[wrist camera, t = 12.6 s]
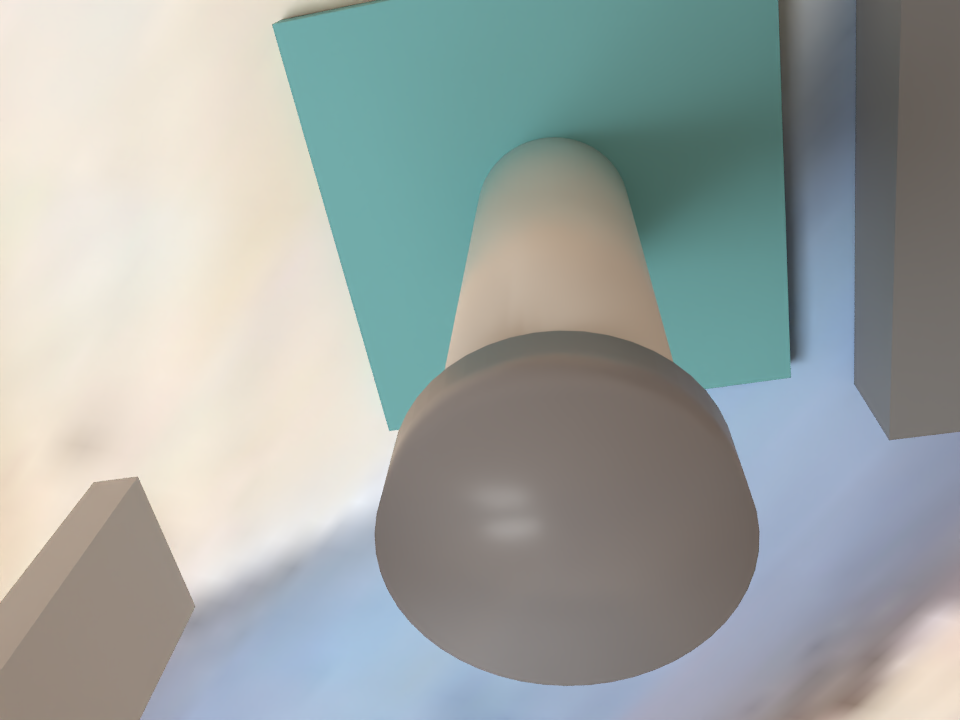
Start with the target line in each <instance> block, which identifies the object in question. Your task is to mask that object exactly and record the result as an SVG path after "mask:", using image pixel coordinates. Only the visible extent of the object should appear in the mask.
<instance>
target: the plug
mask: <svg viewBox="0 0 960 720" xmlns="http://www.w3.org/2000/svg"><path fill="white" fill-rule="evenodd" d="M375 546H376V555H377V560H378V564H379V568H380V572H381V575H382V577H383V580H384V582H385V584H386V587H387V589H388V591H389V593H390V595H391V596H392V598H393V600H394V601H395V603H396V605H397V606H398V608H399V609H400V610H401V611H402V613H403V614H404V615H405V616H406V618H407V619H408V620H409V621H410V623H411V624H413V625H414V626H415V627H416V628H417V629H418V630H419V631H420V632H421V633H422V634H423V635H424V636H425V637H426V638H428V639H429V640H430V641H432V642H433V643H434V644H435V645H437V646H438V647H439V648H441V649H442V650H444V651H446V652H447V653H449V654H451V655H452V656H454V657H456V658H457V659H459V660H461V661H463V662H465V663H467V664H470V665H472V666H474V667H476V668H478V669H481V670H484V671H487V672H490V673H492V674H495V675H498V676H502V677H506V678H510V679H514V680H518V681H523V682H529V683H536V684H543V685H561V686H574V685H592V684H600V683H608V682H614V681H618V680H622V679H627V678H631V677H635V676H638V675H641V674H644V673H647V672H650V671H653V670H656V669H658V668H660V667H662V666H664V665H667V664H669V663H671V662H673V661H675V660H677V659H679V658H680V657H682V656H684V655H685V654H687V653H689V652H691V651H692V650H694V649H695V648H696V647H698V646H699V645H700V644H702V643H703V642H704V641H706V640H707V639H708V638H710V637H711V636H712V635H713V634H714V633H715V632H716V631H717V630H718V629H719V628H720V627H721V626H722V625H723V624H724V623H725V622H726V621H727V620H728V618H729V617H730V616H731V614H732V613H733V612H734V611H735V609H736V608H737V607H738V605H739V603H740V602H741V600H742V598H743V596H744V595H745V593H746V591H747V589H748V587H749V584H750V582H751V579H752V577H753V574H754V571H755V567H756V562H757V557H758V552H759V525H758V518H757V511H756V508H755V505H754V502H753V499H752V496H751V493H750V490H749V487H748V484H747V481H746V478H745V475H744V472H743V469H742V466H741V463H740V460H739V458H738V455H737V452H736V449H735V446H734V443H733V440H732V437H731V434H730V431H729V428H728V425H727V424H726V422H725V420H724V418H723V416H722V414H721V412H720V410H719V408H718V407H717V405H716V404H715V402H714V401H713V400H712V398H711V397H710V396H709V394H708V393H707V391H706V390H705V389H704V388H703V387H702V386H701V385H700V384H699V383H698V382H697V381H696V380H695V379H694V378H693V377H692V376H691V375H690V374H688V373H687V372H686V371H684V370H683V369H682V368H680V367H679V366H678V365H677V364H675V363H674V362H673V359H672V355H671V352H670V348H669V344H668V341H667V337H666V333H665V330H664V326H663V322H662V319H661V315H660V312H659V308H658V304H657V301H656V297H655V293H654V290H653V286H652V282H651V279H650V275H649V271H648V268H647V264H646V260H645V257H644V253H643V250H642V246H641V242H640V239H639V235H638V231H637V228H636V224H635V220H634V217H633V213H632V209H631V206H630V202H629V198H628V195H627V191H626V188H625V185H624V182H623V180H622V178H621V176H620V174H619V172H618V171H617V169H616V168H615V167H614V165H613V164H612V163H611V162H610V161H609V160H608V159H607V158H606V157H605V156H604V155H603V154H602V153H600V152H599V151H598V150H596V149H594V148H593V147H591V146H589V145H587V144H585V143H582V142H580V141H576V140H573V139H567V138H557V137H550V138H541V139H537V140H533V141H529V142H527V143H524V144H522V145H520V146H518V147H516V148H514V149H512V150H511V151H510V152H508V153H507V154H505V155H504V156H503V157H502V158H501V159H500V160H499V161H498V162H497V163H496V164H495V165H494V167H493V168H492V169H491V170H490V172H489V174H488V175H487V177H486V179H485V181H484V183H483V186H482V188H481V192H480V195H479V200H478V205H477V210H476V215H475V220H474V225H473V230H472V235H471V240H470V245H469V250H468V255H467V260H466V265H465V270H464V275H463V280H462V285H461V290H460V296H459V301H458V306H457V311H456V316H455V321H454V326H453V331H452V336H451V341H450V346H449V351H448V356H447V361H446V366H445V370H444V371H443V372H441V373H440V374H439V375H438V376H437V377H436V378H434V379H433V380H432V381H431V382H430V383H429V384H428V385H427V387H426V388H425V389H424V390H423V391H422V392H421V393H420V394H419V396H418V397H417V398H416V400H415V401H414V403H413V404H412V406H411V408H410V409H409V411H408V412H407V414H406V416H405V418H404V420H403V423H402V425H401V427H400V429H399V432H398V435H397V439H396V443H395V446H394V450H393V454H392V458H391V461H390V465H389V469H388V473H387V477H386V481H385V484H384V488H383V492H382V496H381V500H380V503H379V507H378V511H377V516H376V526H375Z"/></svg>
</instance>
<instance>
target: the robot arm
mask: <svg viewBox="0 0 960 720" xmlns="http://www.w3.org/2000/svg"><path fill="white" fill-rule="evenodd" d="M194 608H195V605H194V602H193V600H192V598H191V596H190V593H189V591H188V589H187V587H186V584H185V582H184V580H183V578H182V575H181V573H180V571H179V569H178V566H177V564H176V562H175V560H174V557H173V555H172V553H171V551H170V548H169V546H168V544H167V542H166V539H165V537H164V535H163V532H162V530H161V528H160V526H159V523H158V521H157V519H156V517H155V514H154V512H153V510H152V508H151V505H150V503H149V501H148V499H147V496H146V494H145V492H144V490H143V487H142V485H141V483H140V481H139V478H138V477H131V478H123V479H116V480H108V481H101V482H94V483H93V484H92V485H91V487H90V488H89V489H88V490H87V492H86V493H85V494H84V496H83V497H82V498H81V499H80V501H79V502H78V503H77V505H76V506H75V507H74V508H73V510H72V511H71V512H70V514H69V515H68V516H67V518H66V519H65V520H64V521H63V523H62V524H61V525H60V527H59V528H58V529H57V530H56V532H55V533H54V534H53V536H52V537H51V538H50V539H49V541H48V542H47V543H46V545H45V546H44V547H43V548H42V550H41V551H40V552H39V554H38V555H37V556H36V557H35V559H34V560H33V561H32V563H31V564H30V565H29V566H28V568H27V569H26V570H25V572H24V573H23V574H22V576H21V577H20V578H19V579H18V581H17V582H16V583H15V585H14V586H13V587H12V588H11V590H10V591H9V592H8V594H7V595H6V596H5V597H4V599H3V600H2V601H1V603H0V720H140V718H141V716H142V714H143V712H144V710H145V708H146V706H147V704H148V702H149V700H150V697H151V695H152V693H153V691H154V689H155V687H156V685H157V683H158V681H159V679H160V677H161V675H162V673H163V671H164V669H165V667H166V665H167V663H168V661H169V659H170V657H171V655H172V653H173V651H174V649H175V647H176V645H177V643H178V641H179V639H180V637H181V635H182V633H183V631H184V629H185V627H186V624H187V622H188V620H189V618H190V616H191V614H192V612H193V610H194Z"/></svg>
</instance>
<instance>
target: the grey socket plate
mask: <svg viewBox="0 0 960 720" xmlns="http://www.w3.org/2000/svg"><path fill="white" fill-rule="evenodd" d="M854 384H855V386H856V388H857V389H858V391H859V392H860V394H861V396H862V397H863V399H864V400H865V402H866V404H867V405H868V407H869V408H870V410H871V412H872V413H873V415H874V416H875V418H876V420H877V421H878V423H879V425H880V426H881V428H882V429H883V431H884V433H885V434H886V436H887V437H888V439H889V440H894V439H903V438H911V437H919V436H927V435H936V434H944V433H952V432H960V0H856V154H855V339H854Z"/></svg>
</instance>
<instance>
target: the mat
mask: <svg viewBox="0 0 960 720" xmlns="http://www.w3.org/2000/svg"><path fill="white" fill-rule="evenodd" d="M272 26H273V29H274V33H275V36H276V40H277V43H278V47H279V50H280V54H281V57H282V60H283V64H284V67H285V71H286V74H287V78H288V81H289V85H290V88H291V92H292V95H293V99H294V102H295V106H296V109H297V112H298V116H299V119H300V123H301V126H302V130H303V133H304V137H305V140H306V144H307V147H308V151H309V154H310V158H311V161H312V164H313V168H314V171H315V175H316V178H317V182H318V185H319V189H320V192H321V196H322V199H323V203H324V206H325V210H326V213H327V217H328V220H329V223H330V227H331V230H332V234H333V237H334V241H335V244H336V248H337V251H338V255H339V258H340V262H341V265H342V269H343V272H344V275H345V279H346V282H347V286H348V289H349V293H350V296H351V300H352V303H353V307H354V310H355V314H356V317H357V321H358V324H359V327H360V331H361V334H362V338H363V341H364V345H365V348H366V352H367V355H368V359H369V362H370V366H371V369H372V373H373V376H374V379H375V383H376V386H377V390H378V393H379V397H380V400H381V404H382V407H383V411H384V414H385V418H386V421H387V425H388V428H389V431H392V430H399V429H400V427H401V425H402V423H403V420H404V418H405V416H406V414H407V412H408V411H409V409H410V408H411V406H412V404H413V403H414V401H415V400H416V398H417V397H418V396H419V394H420V393H421V392H422V391H423V390H424V389H425V388H426V387H427V385H428V384H429V383H430V382H431V381H432V380H433V379H434V378H436V377H437V376H438V375H439V374H440V373H441V372H443V371H444V370H445V366H446V361H447V356H448V351H449V346H450V341H451V336H452V331H453V326H454V321H455V316H456V311H457V306H458V301H459V296H460V290H461V285H462V280H463V275H464V270H465V265H466V260H467V255H468V250H469V245H470V240H471V235H472V230H473V225H474V220H475V215H476V210H477V205H478V200H479V195H480V192H481V188H482V186H483V183H484V181H485V179H486V177H487V175H488V174H489V172H490V170H491V169H492V168H493V167H494V165H495V164H496V163H497V162H498V161H499V160H500V159H501V158H502V157H503V156H504V155H505V154H507V153H508V152H510V151H511V150H512V149H514V148H516V147H518V146H520V145H522V144H524V143H527V142H529V141H533V140H537V139H541V138H550V137H557V138H567V139H573V140H576V141H580V142H582V143H585V144H587V145H589V146H591V147H593V148H594V149H596V150H598V151H599V152H600V153H602V154H603V155H604V156H605V157H606V158H607V159H608V160H609V161H610V162H611V163H612V164H613V165H614V167H615V168H616V169H617V171H618V172H619V174H620V176H621V178H622V180H623V182H624V185H625V188H626V191H627V195H628V198H629V202H630V206H631V209H632V213H633V217H634V220H635V224H636V228H637V231H638V235H639V239H640V242H641V246H642V250H643V253H644V257H645V260H646V264H647V268H648V271H649V275H650V279H651V282H652V286H653V290H654V293H655V297H656V301H657V304H658V308H659V312H660V315H661V319H662V322H663V326H664V330H665V333H666V337H667V341H668V344H669V348H670V352H671V355H672V359H673V362H674V363H675V364H677V365H678V366H679V367H680V368H682V369H683V370H684V371H686V372H687V373H688V374H690V375H691V376H692V377H693V378H694V379H695V380H696V381H697V382H698V383H699V384H700V385H701V386H702V387H703V388H704V389H709V388H716V387H724V386H732V385H739V384H747V383H754V382H762V381H769V380H777V379H784V378H791V368H790V338H789V308H788V278H787V248H786V218H785V189H784V159H783V129H782V99H781V69H780V39H779V9H778V0H376V1H371V2H366V3H361V4H356V5H351V6H347V7H342V8H337V9H332V10H327V11H322V12H318V13H313V14H308V15H303V16H298V17H293V18H289V19H284V20H280V21H278V22H276V23H274V24H272Z"/></svg>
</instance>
